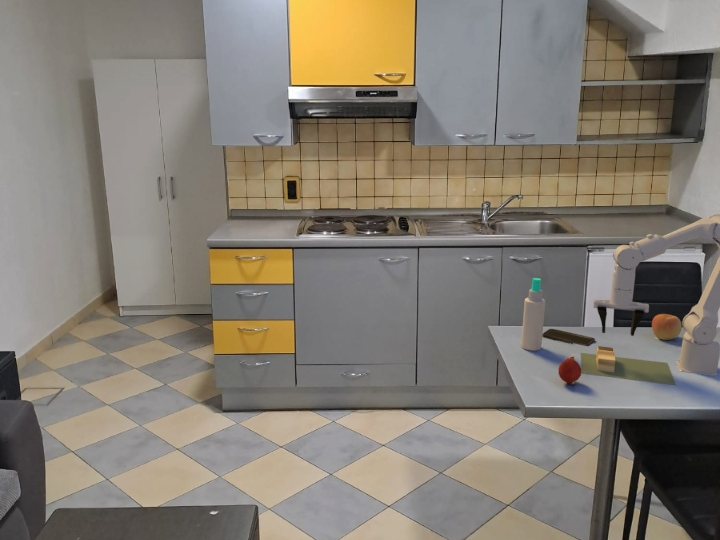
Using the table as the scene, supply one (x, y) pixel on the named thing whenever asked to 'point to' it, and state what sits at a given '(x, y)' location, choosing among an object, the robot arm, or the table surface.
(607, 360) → the wooden cubby box
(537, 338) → the spray bottle
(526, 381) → the table surface
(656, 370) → the rubber mat
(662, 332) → the apple
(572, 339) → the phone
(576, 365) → the onion
